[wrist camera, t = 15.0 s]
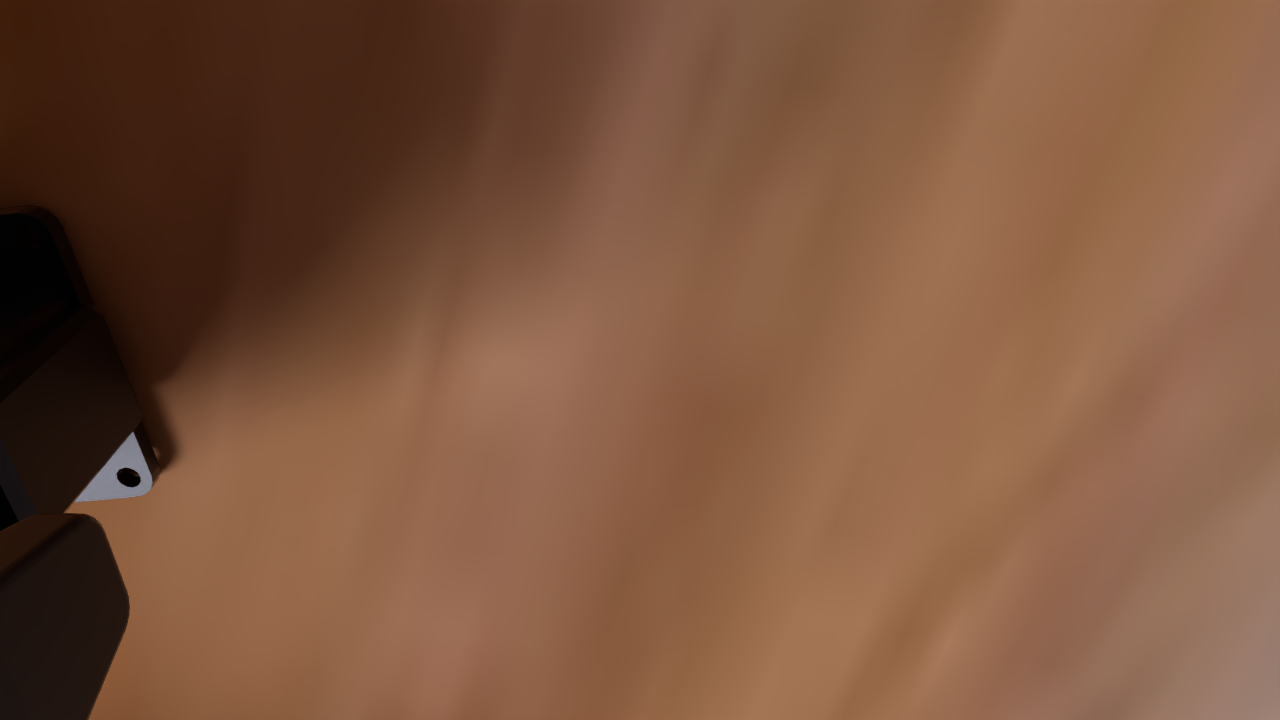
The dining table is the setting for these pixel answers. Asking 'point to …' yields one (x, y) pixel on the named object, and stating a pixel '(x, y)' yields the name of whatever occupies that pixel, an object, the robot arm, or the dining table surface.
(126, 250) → the dining table surface
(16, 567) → the robot arm
